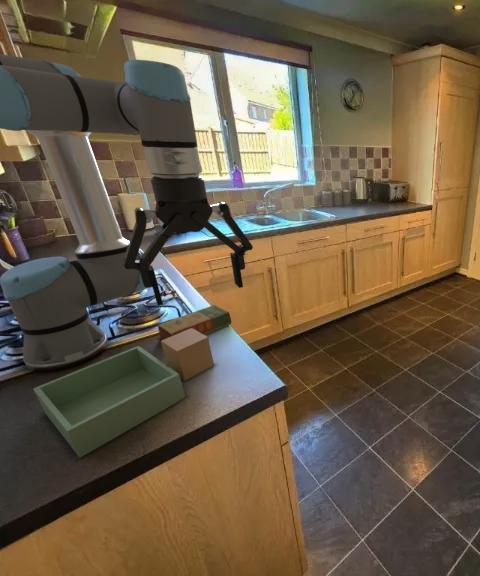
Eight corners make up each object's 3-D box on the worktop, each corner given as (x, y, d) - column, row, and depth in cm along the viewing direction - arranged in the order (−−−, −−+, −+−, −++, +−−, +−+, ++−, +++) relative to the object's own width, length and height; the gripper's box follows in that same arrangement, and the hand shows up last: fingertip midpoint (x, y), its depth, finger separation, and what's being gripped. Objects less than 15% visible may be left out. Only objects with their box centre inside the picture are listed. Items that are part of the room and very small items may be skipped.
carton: (160, 337, 89) (156, 323, 87) (217, 315, 101) (214, 303, 100) (174, 348, 85) (171, 333, 83) (232, 323, 97) (230, 311, 95)
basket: (45, 413, 64) (32, 388, 61) (145, 367, 77) (138, 345, 75) (79, 458, 55) (67, 431, 53) (185, 397, 69) (179, 374, 66)
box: (168, 369, 77) (160, 340, 74) (198, 355, 82) (191, 327, 79) (184, 380, 74) (177, 351, 70) (214, 365, 79) (208, 337, 76)
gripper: (74, 180, 43) (121, 320, 52) (261, 175, 58) (273, 285, 67) (76, 175, 49) (118, 302, 57) (247, 172, 63) (260, 273, 72)
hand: (201, 293), depth 62 cm, fingers open, 13 cm apart
